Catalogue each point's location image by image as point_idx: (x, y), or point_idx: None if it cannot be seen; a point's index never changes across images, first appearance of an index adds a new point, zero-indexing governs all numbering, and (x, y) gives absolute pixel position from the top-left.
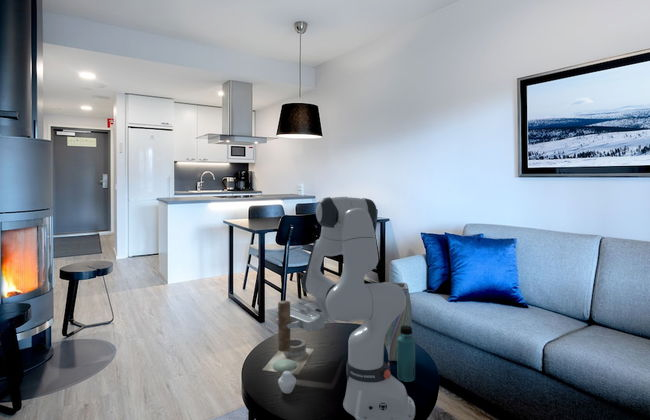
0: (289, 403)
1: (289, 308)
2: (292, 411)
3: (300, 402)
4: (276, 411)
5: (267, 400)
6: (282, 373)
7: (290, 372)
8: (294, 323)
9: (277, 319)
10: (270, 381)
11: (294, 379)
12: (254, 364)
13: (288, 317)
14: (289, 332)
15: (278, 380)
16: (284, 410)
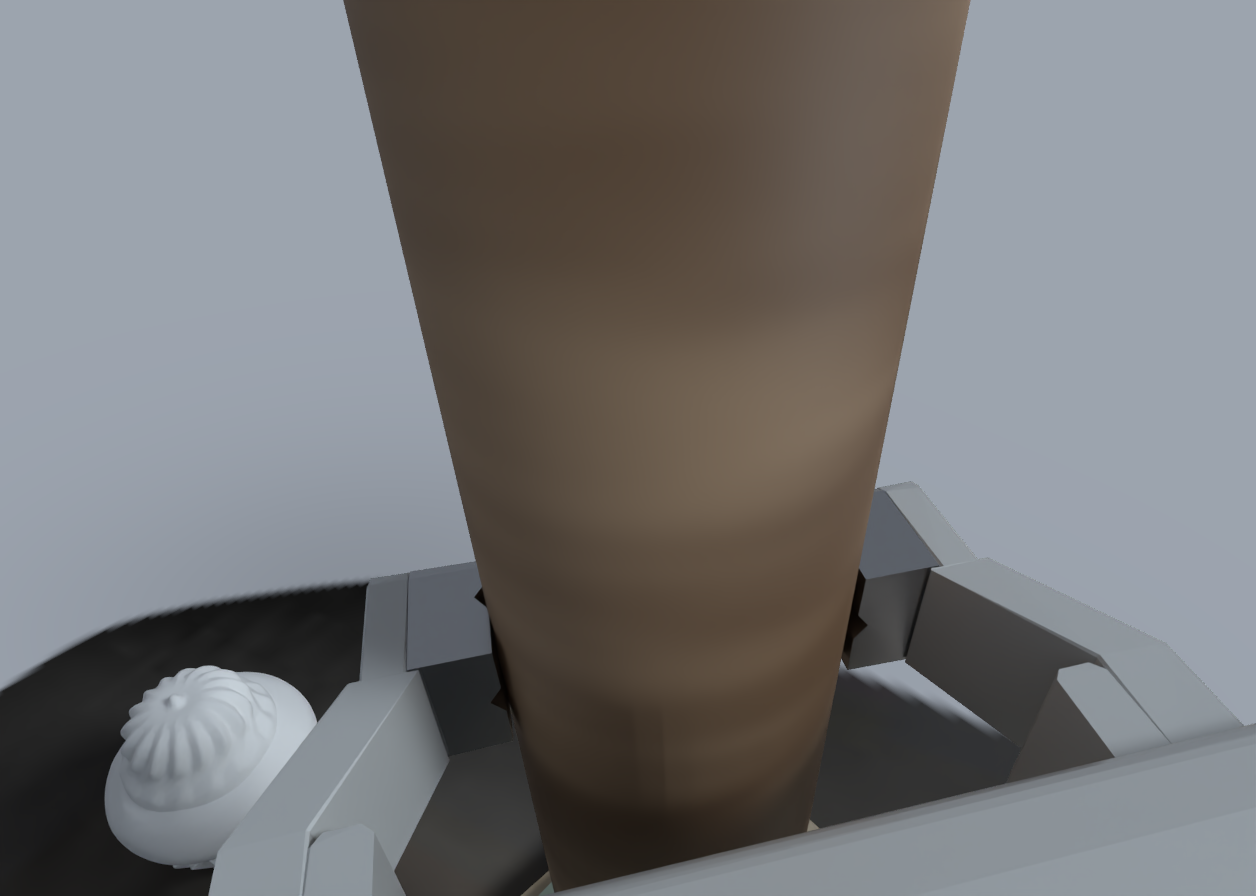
0: (101, 742)
1: (400, 183)
2: (10, 713)
3: (8, 829)
4: (134, 627)
5: (294, 630)
6: (240, 680)
7: (143, 736)
8: (319, 749)
9: (893, 488)
10: (521, 759)
11: (118, 805)
12: (954, 765)
13: (460, 480)
14: (542, 817)
15: (282, 680)
16: (83, 673)
